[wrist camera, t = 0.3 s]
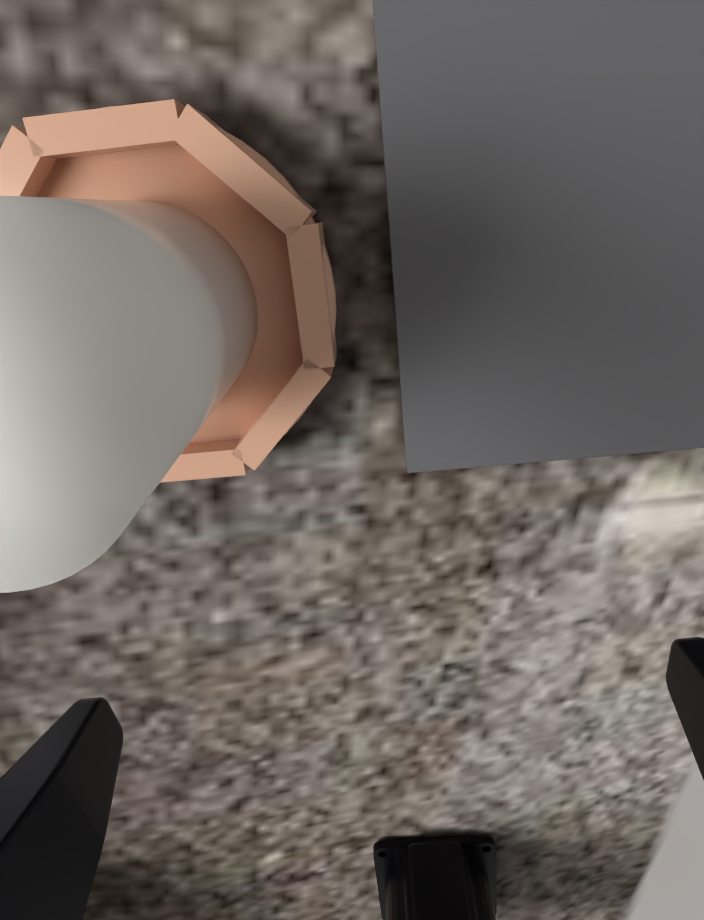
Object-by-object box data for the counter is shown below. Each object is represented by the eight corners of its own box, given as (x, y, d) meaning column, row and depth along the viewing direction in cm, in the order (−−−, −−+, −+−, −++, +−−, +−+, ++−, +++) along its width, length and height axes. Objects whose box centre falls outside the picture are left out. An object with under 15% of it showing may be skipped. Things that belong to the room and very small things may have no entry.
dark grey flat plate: (719, 439, 22) (728, 445, 22) (406, 466, 23) (407, 473, 22) (803, -100, 16) (818, -110, 16) (369, -41, 17) (369, -49, 16)
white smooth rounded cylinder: (272, 399, 21) (187, 578, 11) (86, 416, 21) (-166, 606, 11) (238, 189, 18) (82, 164, 8) (27, 213, 19) (-376, 218, 8)
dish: (353, 447, 23) (352, 471, 21) (55, 473, 23) (25, 499, 21) (314, 89, 18) (307, 73, 16) (-58, 134, 19) (-109, 125, 17)
